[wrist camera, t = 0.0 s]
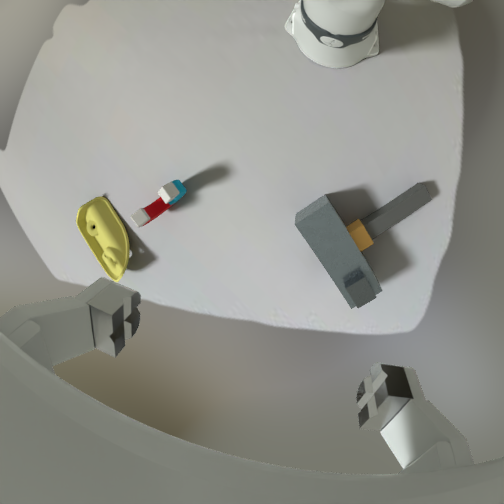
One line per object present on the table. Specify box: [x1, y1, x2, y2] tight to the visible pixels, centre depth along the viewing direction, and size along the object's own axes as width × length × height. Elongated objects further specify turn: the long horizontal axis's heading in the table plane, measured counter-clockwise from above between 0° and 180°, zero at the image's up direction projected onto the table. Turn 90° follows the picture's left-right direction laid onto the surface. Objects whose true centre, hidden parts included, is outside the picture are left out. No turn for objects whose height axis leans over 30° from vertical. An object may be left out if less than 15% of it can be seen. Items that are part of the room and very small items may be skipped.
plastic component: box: [76, 197, 129, 282], centre depth 63 cm, size 20×7×10 cm
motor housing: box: [295, 195, 382, 309], centre depth 51 cm, size 7×20×10 cm, turn 37°
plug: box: [346, 183, 432, 252], centre depth 50 cm, size 21×4×4 cm, turn 127°
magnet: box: [131, 180, 187, 227], centre depth 54 cm, size 12×3×10 cm, turn 126°
